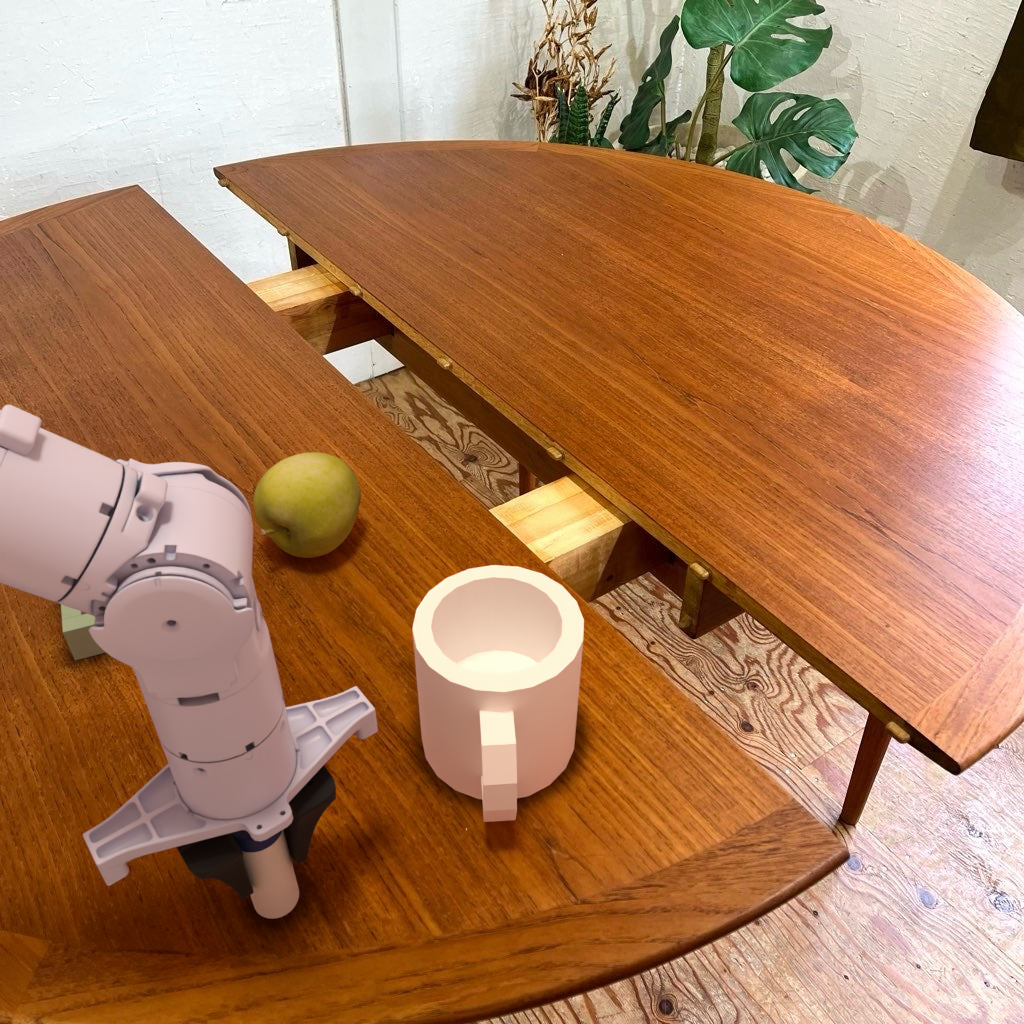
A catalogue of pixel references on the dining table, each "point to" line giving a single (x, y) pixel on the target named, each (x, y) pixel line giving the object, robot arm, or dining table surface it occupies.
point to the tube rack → (79, 633)
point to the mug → (498, 682)
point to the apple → (307, 503)
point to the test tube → (269, 873)
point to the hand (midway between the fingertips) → (266, 866)
